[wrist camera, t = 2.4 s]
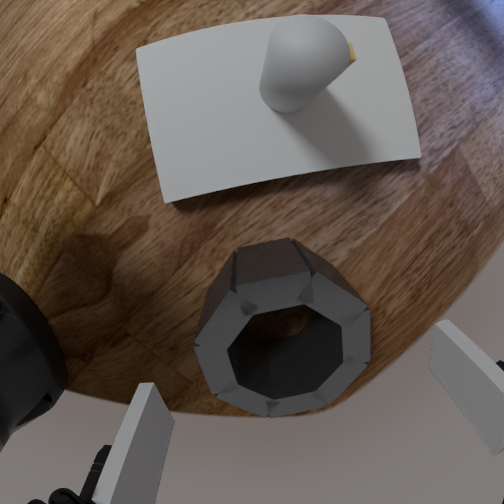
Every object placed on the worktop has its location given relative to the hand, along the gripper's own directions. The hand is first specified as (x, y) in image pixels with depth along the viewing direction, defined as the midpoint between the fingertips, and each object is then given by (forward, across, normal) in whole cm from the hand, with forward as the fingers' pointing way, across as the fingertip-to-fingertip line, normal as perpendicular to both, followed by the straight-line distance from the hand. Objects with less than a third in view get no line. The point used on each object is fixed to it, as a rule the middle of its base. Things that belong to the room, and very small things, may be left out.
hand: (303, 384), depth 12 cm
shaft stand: (+8, +2, +13) cm, 16 cm away
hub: (+8, 0, 0) cm, 8 cm away
